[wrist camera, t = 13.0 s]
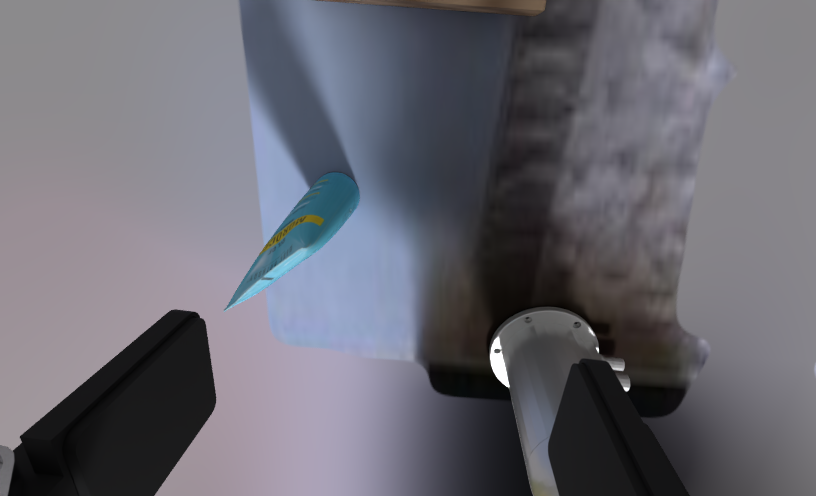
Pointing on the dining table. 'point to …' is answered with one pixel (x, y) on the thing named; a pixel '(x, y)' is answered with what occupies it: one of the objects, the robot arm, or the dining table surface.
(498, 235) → the dining table surface
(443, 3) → the wooden compartment tray
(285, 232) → the tube
